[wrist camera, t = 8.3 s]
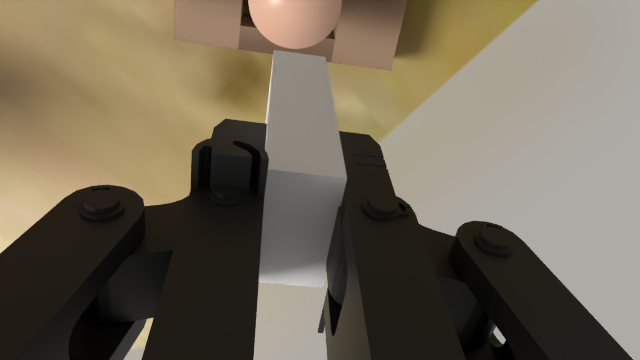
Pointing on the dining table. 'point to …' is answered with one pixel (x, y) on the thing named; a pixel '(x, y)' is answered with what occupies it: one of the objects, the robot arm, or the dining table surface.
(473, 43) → the dining table surface
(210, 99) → the dining table surface
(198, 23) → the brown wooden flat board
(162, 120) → the dining table surface
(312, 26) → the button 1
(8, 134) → the dining table surface
